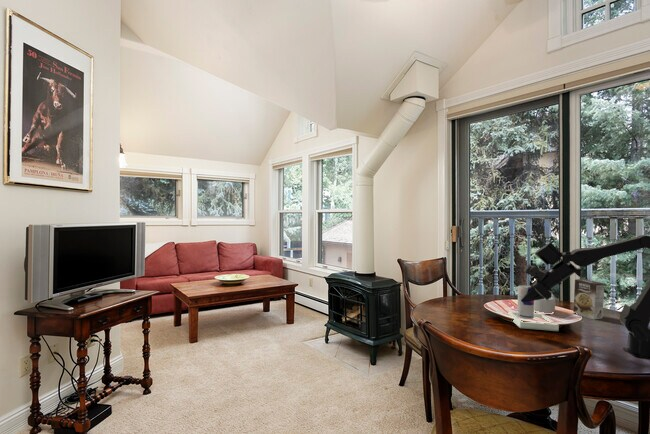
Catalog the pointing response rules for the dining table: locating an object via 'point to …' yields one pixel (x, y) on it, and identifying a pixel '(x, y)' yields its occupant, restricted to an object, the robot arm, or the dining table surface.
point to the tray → (534, 323)
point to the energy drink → (525, 303)
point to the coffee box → (589, 298)
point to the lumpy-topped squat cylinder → (545, 305)
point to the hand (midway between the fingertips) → (521, 299)
